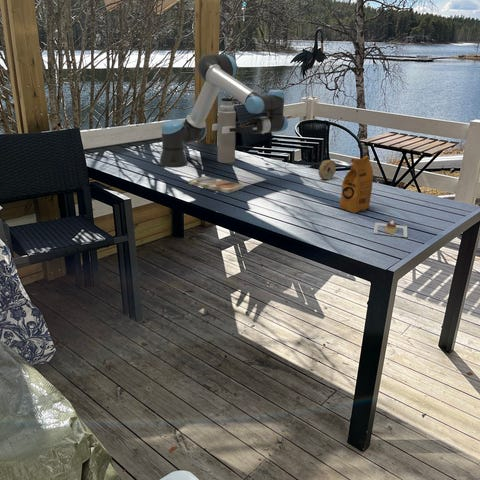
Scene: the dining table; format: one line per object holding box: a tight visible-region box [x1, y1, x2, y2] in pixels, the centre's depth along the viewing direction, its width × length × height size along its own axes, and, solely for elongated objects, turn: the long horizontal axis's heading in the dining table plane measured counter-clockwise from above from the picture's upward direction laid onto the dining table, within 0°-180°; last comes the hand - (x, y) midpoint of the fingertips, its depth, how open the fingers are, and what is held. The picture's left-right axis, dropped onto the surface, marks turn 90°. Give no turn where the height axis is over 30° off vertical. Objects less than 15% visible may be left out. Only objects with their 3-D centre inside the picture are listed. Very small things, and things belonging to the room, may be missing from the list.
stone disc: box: [318, 159, 337, 180], centre depth 252 cm, size 10×4×10 cm, turn 128°
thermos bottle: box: [217, 97, 237, 164], centre depth 223 cm, size 8×8×28 cm
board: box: [188, 175, 245, 194], centre depth 236 cm, size 24×12×2 cm, turn 54°
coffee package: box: [339, 155, 374, 214], centre depth 206 cm, size 10×12×22 cm
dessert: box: [373, 220, 408, 238], centre depth 185 cm, size 12×12×5 cm
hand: (217, 128), depth 220 cm, fingers closed on thermos bottle, 8 cm apart
